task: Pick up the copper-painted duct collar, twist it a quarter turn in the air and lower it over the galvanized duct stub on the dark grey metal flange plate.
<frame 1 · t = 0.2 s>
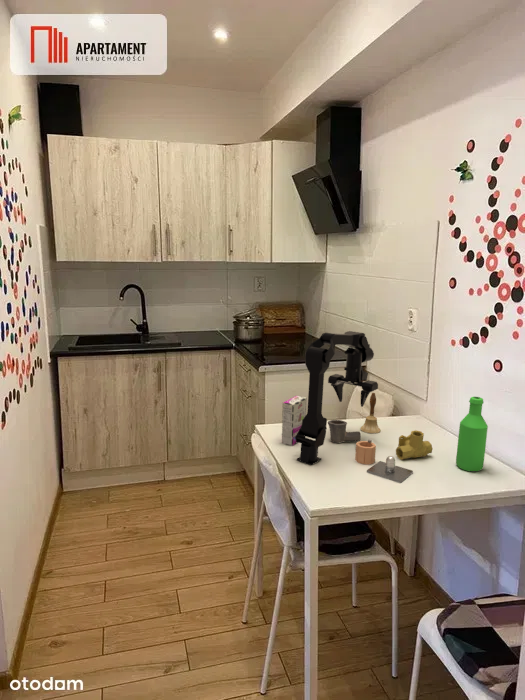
hand: (351, 404, 199), 14 cm above the table, fingers open, 9 cm apart
candy bar box: (293, 440, 199), on the table
ball valve: (409, 455, 188), on the table
bottle: (469, 467, 178), on the table
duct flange: (389, 472, 172), on the table
collar: (364, 460, 182), on the table
pipe: (343, 442, 199), on the table
hand bell: (370, 430, 213), on the table
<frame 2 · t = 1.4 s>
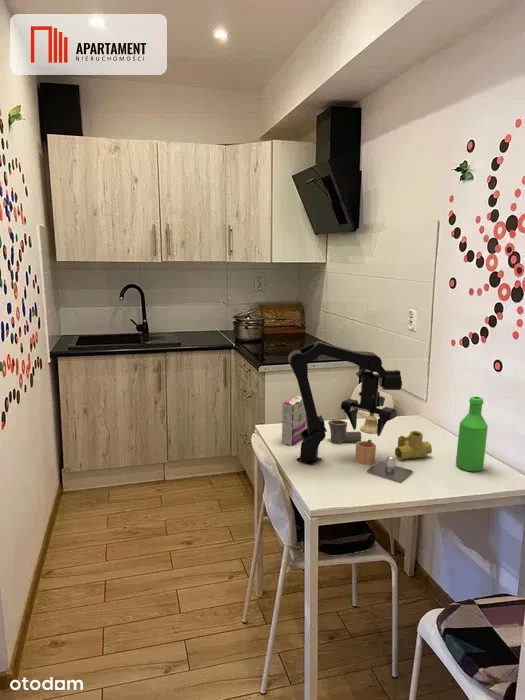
hand: (366, 432, 180), 10 cm above the table, fingers open, 9 cm apart
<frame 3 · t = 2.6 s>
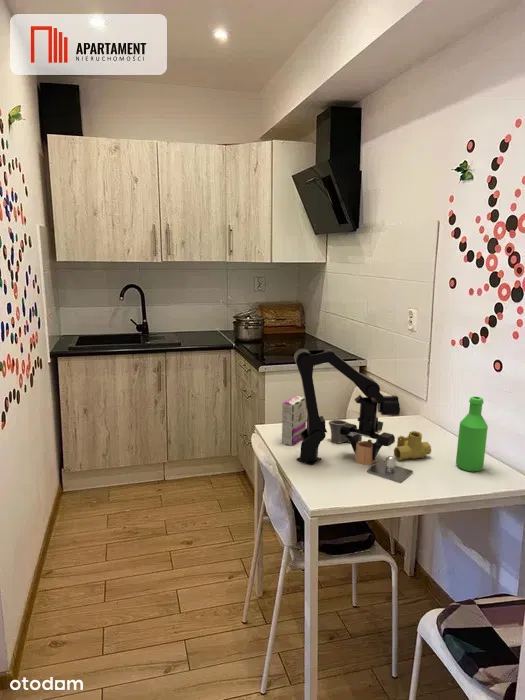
hand: (365, 457, 181), 1 cm above the table, fingers closed on collar, 6 cm apart
collar: (364, 460, 182), on the table, touching gripper
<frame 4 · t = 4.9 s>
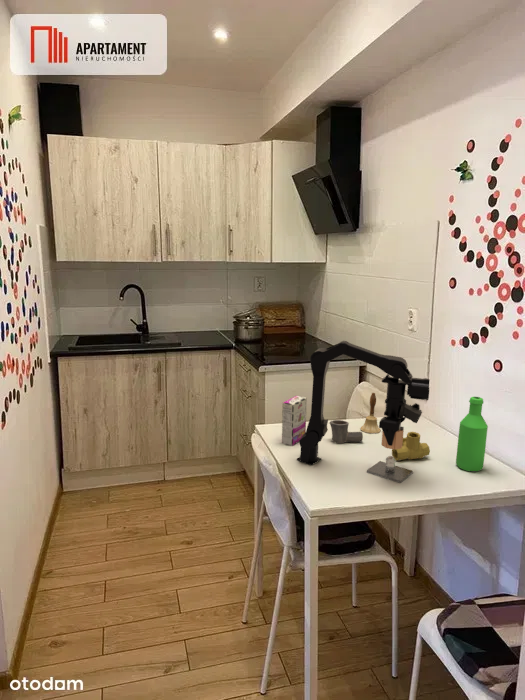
hand: (391, 441, 170), 11 cm above the table, fingers closed on collar, 6 cm apart
collar: (391, 445, 170), point 10 cm above the table, touching gripper
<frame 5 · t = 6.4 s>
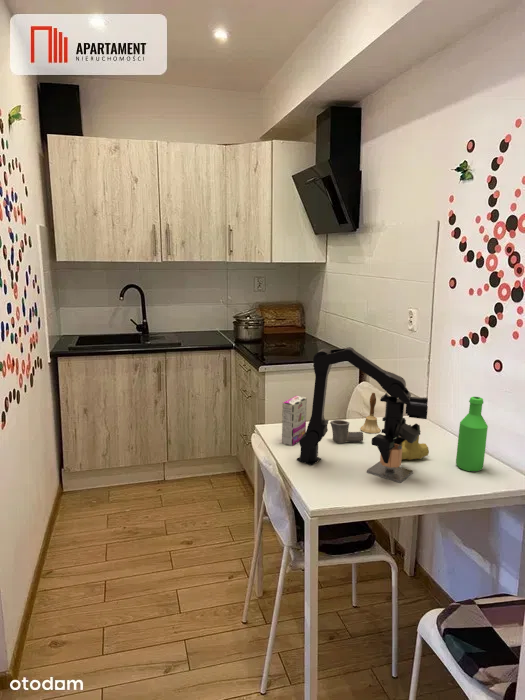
hand: (390, 459, 171), 5 cm above the table, fingers closed on collar, 6 cm apart
collar: (390, 463, 172), point 3 cm above the table, touching gripper
when the fingers open (3 cm above the table, at t = 7.2 s): collar drops 1 cm, resting on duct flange.
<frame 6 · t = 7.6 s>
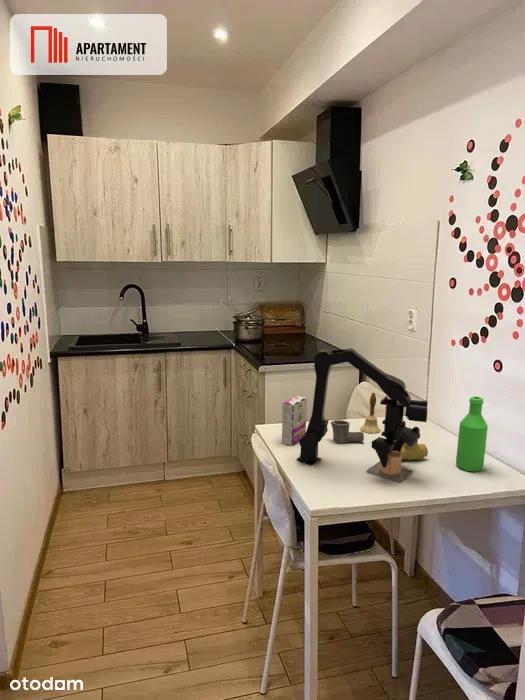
hand: (390, 462, 172), 3 cm above the table, fingers open, 9 cm apart
collar: (389, 470, 172), point 1 cm above the table, touching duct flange
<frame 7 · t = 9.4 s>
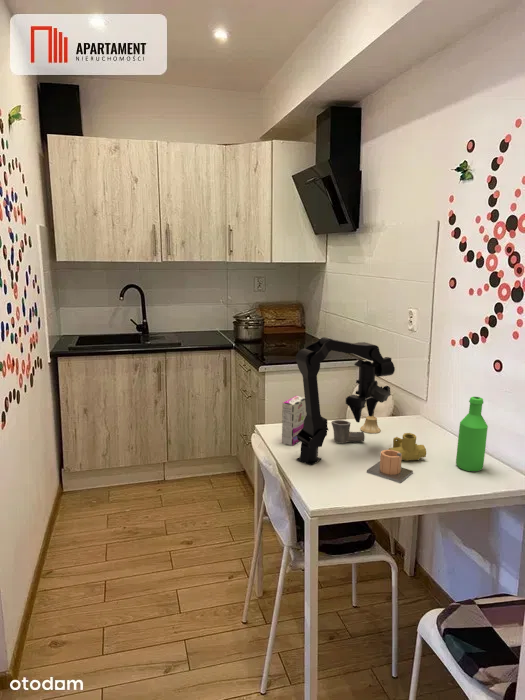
hand: (364, 419, 189), 12 cm above the table, fingers open, 9 cm apart
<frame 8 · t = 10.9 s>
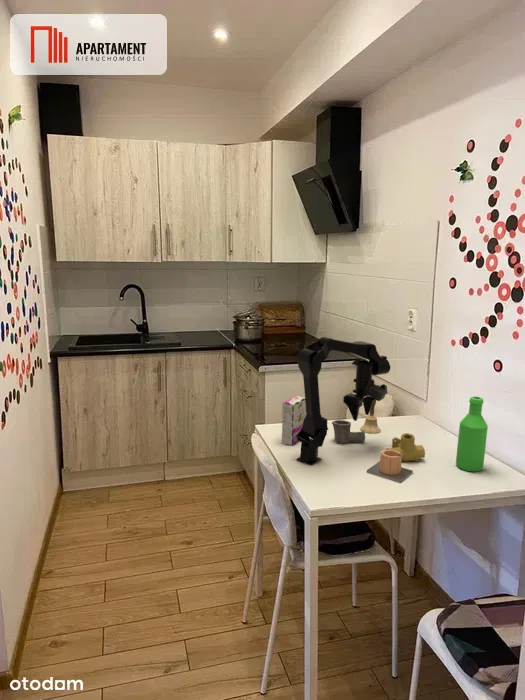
hand: (361, 417, 190), 12 cm above the table, fingers open, 9 cm apart
at the end: collar 0.0 cm off-centre on the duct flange, point 0.8 cm above the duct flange's base; the gripper is holding nothing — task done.
